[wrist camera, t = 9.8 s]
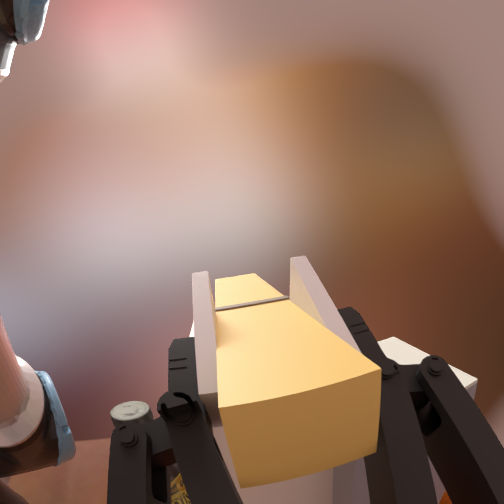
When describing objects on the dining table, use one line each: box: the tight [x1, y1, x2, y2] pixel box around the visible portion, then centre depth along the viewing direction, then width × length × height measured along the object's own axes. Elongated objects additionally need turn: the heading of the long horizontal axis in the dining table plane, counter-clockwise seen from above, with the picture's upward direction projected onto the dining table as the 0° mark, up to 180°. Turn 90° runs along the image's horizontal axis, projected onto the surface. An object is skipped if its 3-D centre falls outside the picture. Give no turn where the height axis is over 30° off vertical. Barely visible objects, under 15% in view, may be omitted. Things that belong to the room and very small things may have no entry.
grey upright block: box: [332, 337, 477, 504], centre depth 20 cm, size 12×10×22 cm
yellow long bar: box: [215, 273, 381, 489], centre depth 18 cm, size 24×4×3 cm, turn 7°
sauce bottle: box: [110, 401, 191, 504], centre depth 23 cm, size 6×6×20 cm
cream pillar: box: [189, 321, 333, 504], centre depth 23 cm, size 12×9×27 cm
